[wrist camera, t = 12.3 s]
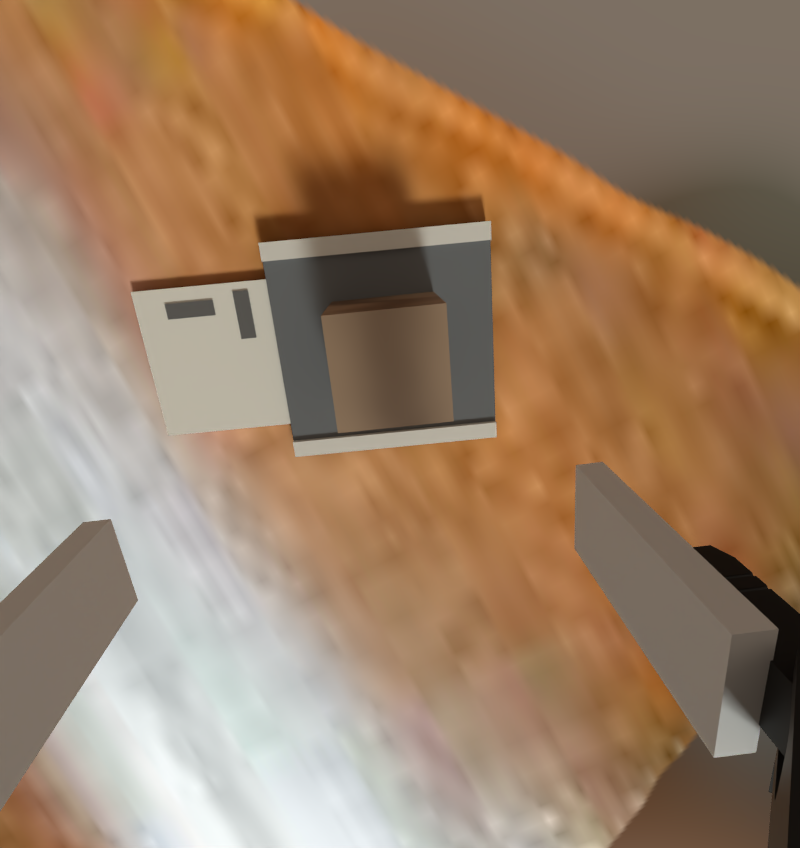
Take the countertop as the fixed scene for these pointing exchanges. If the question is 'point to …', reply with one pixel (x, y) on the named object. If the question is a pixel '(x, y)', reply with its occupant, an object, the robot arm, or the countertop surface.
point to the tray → (376, 277)
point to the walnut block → (389, 361)
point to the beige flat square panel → (213, 356)
